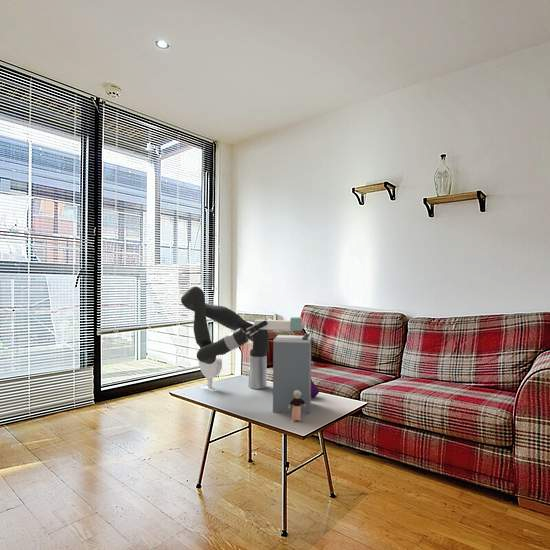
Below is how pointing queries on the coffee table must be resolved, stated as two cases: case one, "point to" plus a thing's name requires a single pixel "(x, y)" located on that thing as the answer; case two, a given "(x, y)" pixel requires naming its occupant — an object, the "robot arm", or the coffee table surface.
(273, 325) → the cartridge
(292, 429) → the coffee table surface
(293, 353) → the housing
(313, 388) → the perfume bottle
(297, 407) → the grandmother figurine
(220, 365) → the heart sculpture
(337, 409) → the coffee table surface
